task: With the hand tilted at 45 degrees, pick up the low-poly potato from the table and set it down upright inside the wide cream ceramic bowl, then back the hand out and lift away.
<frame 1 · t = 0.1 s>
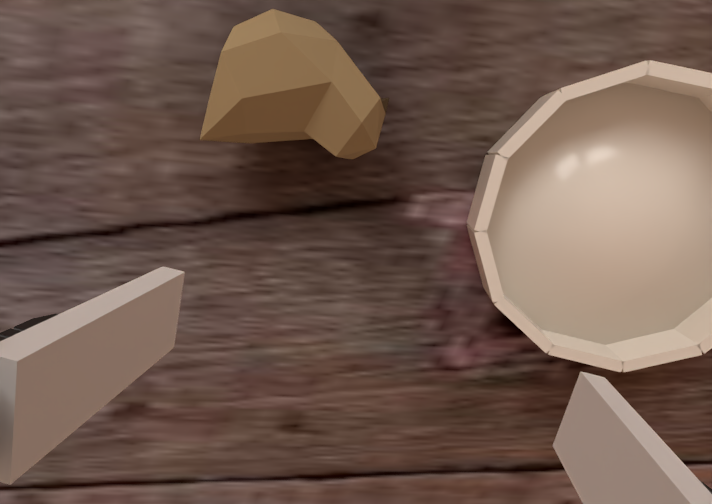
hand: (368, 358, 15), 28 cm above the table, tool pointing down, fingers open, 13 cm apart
low-poly potato: (312, 105, 40), on the table
cream bowl: (609, 219, 40), on the table
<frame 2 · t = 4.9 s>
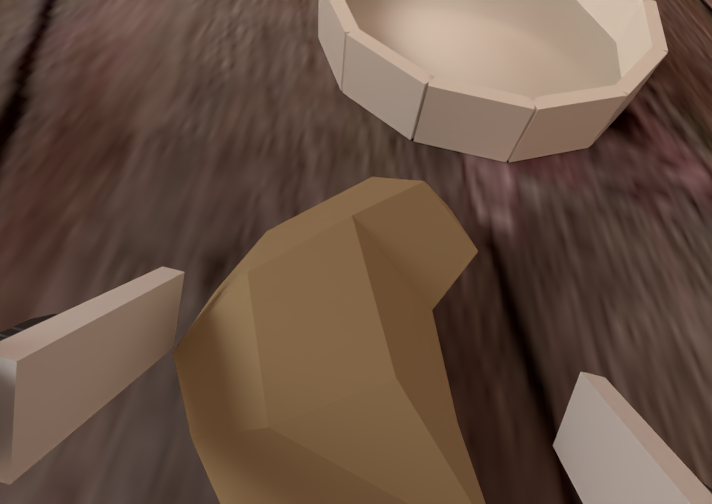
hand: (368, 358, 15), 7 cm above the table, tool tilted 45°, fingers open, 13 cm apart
low-poly potato: (343, 373, 21), on the table
cream bowl: (474, 45, 36), on the table
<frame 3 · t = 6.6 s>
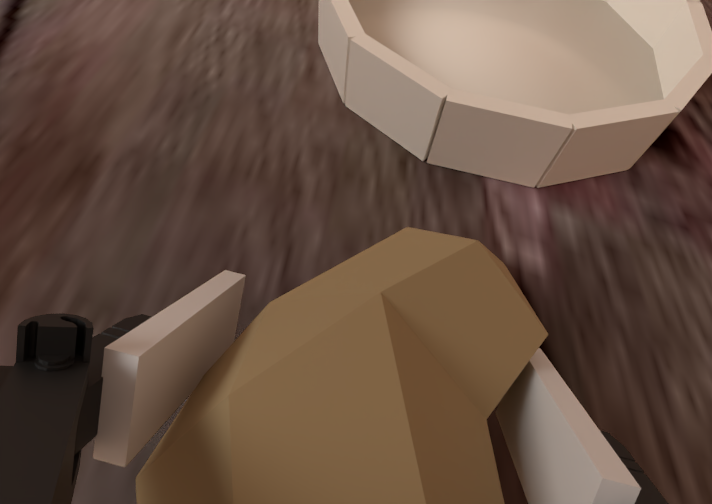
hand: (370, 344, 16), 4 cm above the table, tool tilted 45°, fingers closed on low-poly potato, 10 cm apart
low-poly potato: (365, 463, 17), on the table, touching gripper
cream bowl: (493, 52, 32), on the table
when the fingers open (6 cm above the table, at t = 14.1 s): low-poly potato drops 1 cm, resting on cream bowl.
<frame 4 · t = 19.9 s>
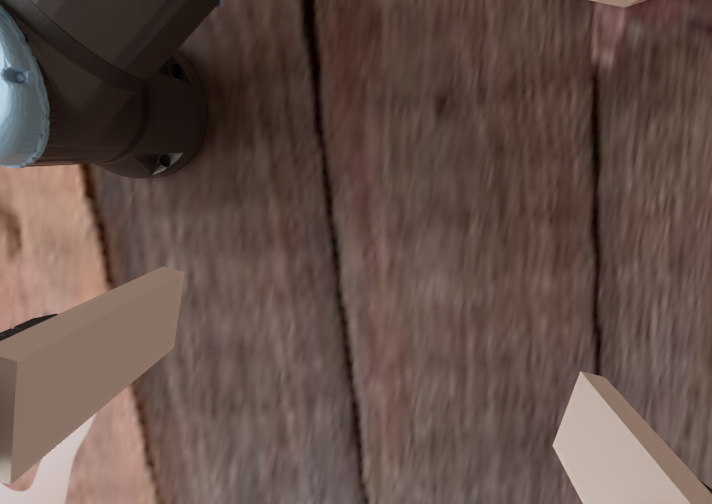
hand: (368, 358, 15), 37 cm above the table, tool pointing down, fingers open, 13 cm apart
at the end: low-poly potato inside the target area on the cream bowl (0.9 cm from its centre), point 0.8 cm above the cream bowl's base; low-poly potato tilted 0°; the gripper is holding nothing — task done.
